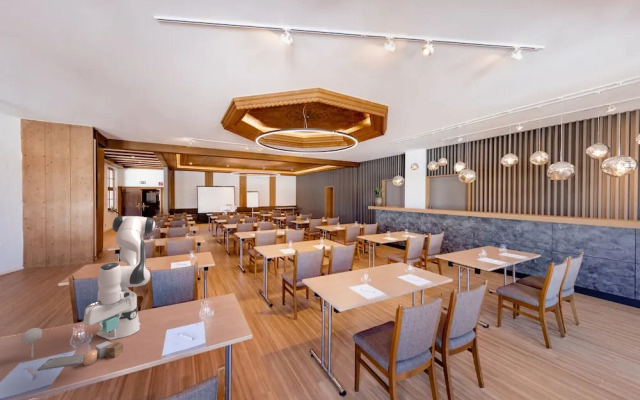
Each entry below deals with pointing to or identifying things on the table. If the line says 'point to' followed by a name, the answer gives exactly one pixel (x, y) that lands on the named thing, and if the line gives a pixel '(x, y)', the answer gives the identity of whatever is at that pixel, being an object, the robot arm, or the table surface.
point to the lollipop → (32, 337)
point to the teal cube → (110, 324)
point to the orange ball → (90, 357)
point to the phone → (62, 362)
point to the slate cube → (102, 349)
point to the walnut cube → (114, 350)
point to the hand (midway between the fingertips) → (109, 325)
